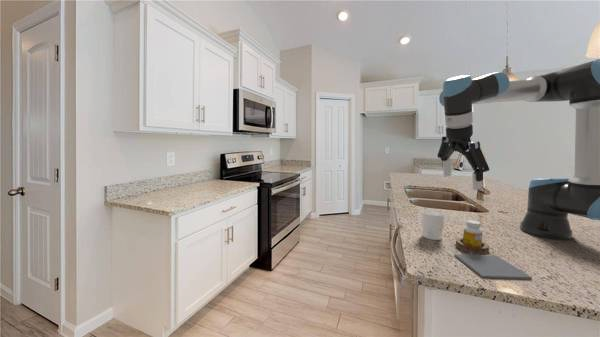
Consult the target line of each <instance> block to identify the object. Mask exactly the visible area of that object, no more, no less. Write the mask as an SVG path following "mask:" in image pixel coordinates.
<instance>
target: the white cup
mask: <svg viewBox="0 0 600 337" xmlns="http://www.w3.org/2000/svg"><path fill="white" fill-rule="evenodd" d="M445 216H446V214H445V213H444V212H443V211H440V210H439V211H438V210H434V209H425V210H422V211H421V229H422V232H421V233H422V234H421V235H422V237H423V238H426V239H427V240H430V241H431V240H432V241H439V240H441V239H442V237H443V230H444V224H445V223H444V222H445Z"/></svg>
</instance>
